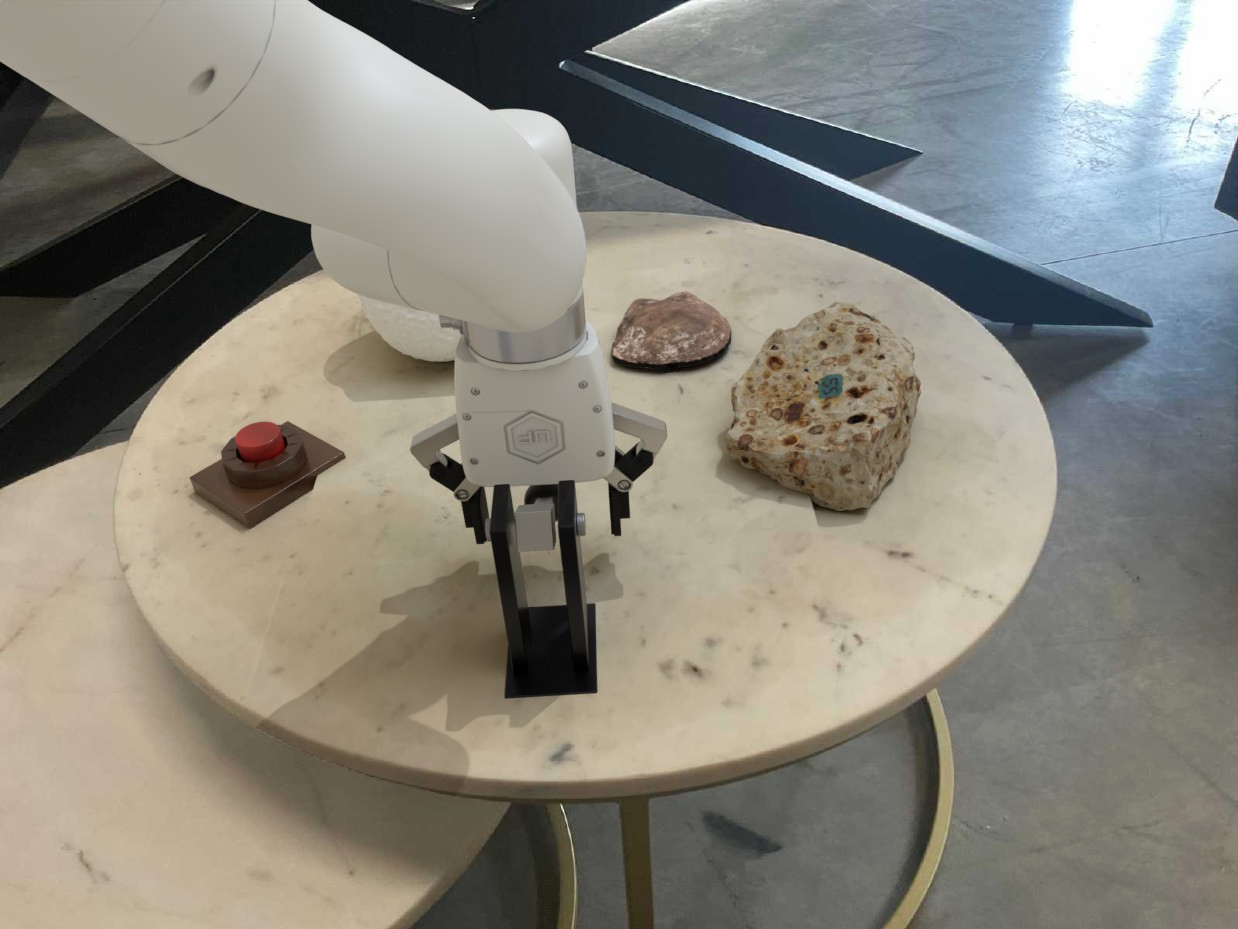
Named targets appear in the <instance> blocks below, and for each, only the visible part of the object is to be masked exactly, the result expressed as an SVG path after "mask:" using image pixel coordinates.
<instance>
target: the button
mask: <svg viewBox="0 0 1238 929" xmlns="http://www.w3.org/2000/svg"><path fill="white" fill-rule="evenodd" d="M278 425H279V424H276V423H275V422H272V421H257V422H253V423H250V424H247V425H245V426H244V427H242V428H241V429H239V431H237V433H236V435H235V436H234V437H235V441H236V444H237V447H238V450H239V453H240V456H241V458H242V460H243V461H245V462H249V463H259V462H263V461H267V460H271V459H273V458H275V457H276V456H278V455H280V454H281V453H283V451H284V449H285V444H284V441H283V438H282V434H281V431H280V428H279V426H278Z"/></svg>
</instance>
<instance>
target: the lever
mask: <svg viewBox="0 0 1238 929" xmlns="http://www.w3.org/2000/svg"><path fill="white" fill-rule="evenodd" d="M558 488H559V484H548V485H531V486H528V487H527V489H526V491H525V493H524V497H523V504H518V506H517V508H516V510H515V511H514V516H515V527H516V541H517V552H520V553H525V552H540V551H554V550H555V547H556V543H557V528H556V522H558Z"/></svg>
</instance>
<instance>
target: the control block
mask: <svg viewBox="0 0 1238 929" xmlns="http://www.w3.org/2000/svg"><path fill="white" fill-rule="evenodd" d="M277 425H278V426H279V428H280V431H281V434H282V438H283V441H284V444H285V449H284V451H283V453H281V454H280V455H278V456H276V457H275V458H273V459H271V460H267V461H263V462H259V463H249V462H245V461H243V460H242V458H241V456H240V453H239V450H238V447H237V444H236V441H235V436H233V437H232V438H230V439H229V440H228V442H227V443H226V444H225V445H224V446H223V448H222V449H221V451H220V457H221V458H220V459H218V460H217V461H215V462H213V463H211V464H210V465H208V466H206V467H204V468H203V469H201V470H198V472H196V473H194V474H192V475H190V476H189V480H190V483H191V486H192V488H193V491H194V493H195V494H197V495H198V496H200V497H201V498H202V499H204V500H206V501H207V502H208V503H210V504H212V505H213V506H215V507H216V508H218V509H219V510H221V511H222V512H223V513H225V514H226V515H228V516H230V517H231V518H232V519H233V520H235V521H237V522H238V523H240V524H241V525H243V526H244V527H246V528H247V529H249V530H251V529H253V528H255V527H256V526H257V525H259V524H261V523H263V522H264V521H266V520H267V519H269V518H270V517H272V516H274V515H275V514H277V513H279V512H280V511H282V510H284V508H286V507H288V506H289V505H291V504H293V503H294V502H296V501H297V500H299V499H300V498H302V497H304V496H305V495H307V494H309V493H310V492H312V491H313V490H314V487H315V485H316V483H317V482H316V481H317V478H318V476H320V475H322V473H324V472H325V471H327V470H329V469H330V468H332V467H334V466H335V465H337V464H338V463H340V462H341V461H343V460H345V459H346V454H345V451H343V450H341V449H339V448H338V447H336V446H334V445H332V444H331V443H329V442H327V441H325V440H323V439H322V438H320V437H317V436H316V435H314V434H312V433H311V432H309V431H307V430H305V429H303V428H302V427H300V426H298V425H296V424H294V423H293V422H290V421H289V420H286V421H284V422H283V423H282V424H277Z"/></svg>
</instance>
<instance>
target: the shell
mask: <svg viewBox="0 0 1238 929" xmlns="http://www.w3.org/2000/svg"><path fill="white" fill-rule="evenodd" d="M615 335H616V336H615V340H614V341H613V343H612V345H611V357H612V361H613V362H614V363H616V364H618V365H622V366H625V367H629V368H632V369H633V368H634V369H649V370H659V371H663V373H668V372H669V373H673V372H676V371H678V370H679V368H689V367H695V366H700V365H703V364H706V363H708V362H712V361H714V360H717V359H718V358H719V357H722V356H723V355H725V353H726V352H727V350H728V348H729V346H731V343H732V326H731V325H730V322H729V320H727V318H726V317H724V316H723V315H722V314H721V313H720V312H719V311H718V310H717V309H716V308H715V307H713V305H711V304H709V303H707V302H705V301H704V300H702V299H701V298H700V297H698V296H697V295H695V294H694V293H692V292H690V291H689V290H688V291H687V290H685V291H678V292H675V293H673V294H671V295H670V296H668V297H665V298H664V299H655V298H645V297H639V298H636V299H635V300H633V301H632V302H631V303H630V305H629V306H628V307H627V310H626V311H625V313H624V316H623V318H622V321H621V322H620V323H619V325H618V326H617V328H616V334H615Z"/></svg>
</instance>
